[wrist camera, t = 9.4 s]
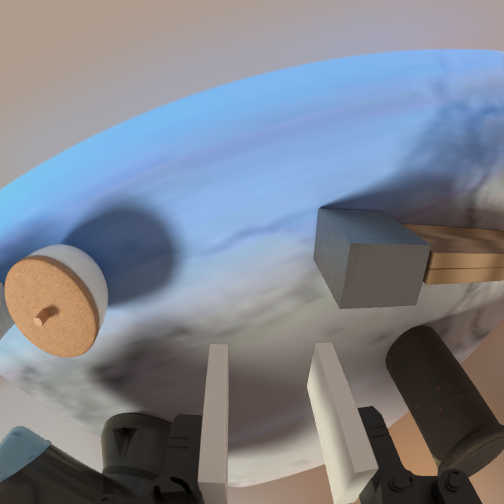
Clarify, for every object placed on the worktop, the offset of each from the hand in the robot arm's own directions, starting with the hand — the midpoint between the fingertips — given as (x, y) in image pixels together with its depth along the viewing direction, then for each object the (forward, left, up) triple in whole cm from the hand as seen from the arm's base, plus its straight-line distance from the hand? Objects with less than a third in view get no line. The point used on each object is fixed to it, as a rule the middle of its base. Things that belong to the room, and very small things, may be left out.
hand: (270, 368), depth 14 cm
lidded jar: (-14, +14, -19) cm, 27 cm away
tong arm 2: (+12, -20, -18) cm, 30 cm away
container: (-3, -27, -19) cm, 33 cm away
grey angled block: (+5, -8, -18) cm, 21 cm away
